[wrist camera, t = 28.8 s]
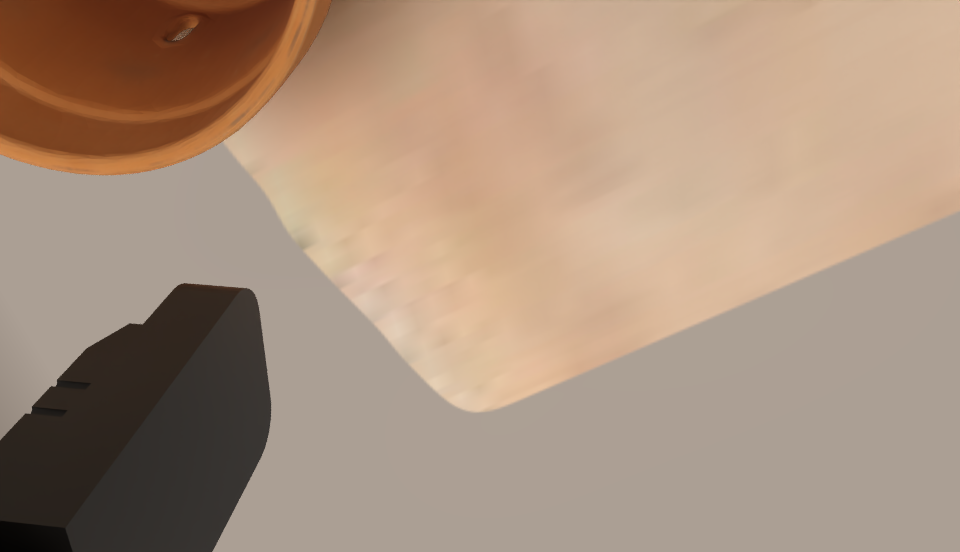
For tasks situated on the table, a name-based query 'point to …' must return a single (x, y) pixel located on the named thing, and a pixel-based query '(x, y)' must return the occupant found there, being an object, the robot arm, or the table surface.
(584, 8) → the table surface
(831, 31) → the table surface
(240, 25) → the flower pot
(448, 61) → the table surface
